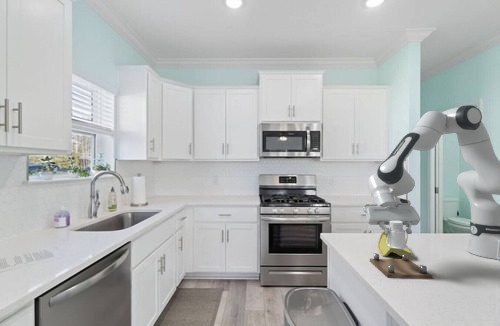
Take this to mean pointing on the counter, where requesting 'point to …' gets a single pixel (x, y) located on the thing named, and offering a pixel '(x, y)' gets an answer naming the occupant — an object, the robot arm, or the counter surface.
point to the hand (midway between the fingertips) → (398, 233)
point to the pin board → (400, 268)
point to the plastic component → (386, 249)
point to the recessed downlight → (397, 235)
